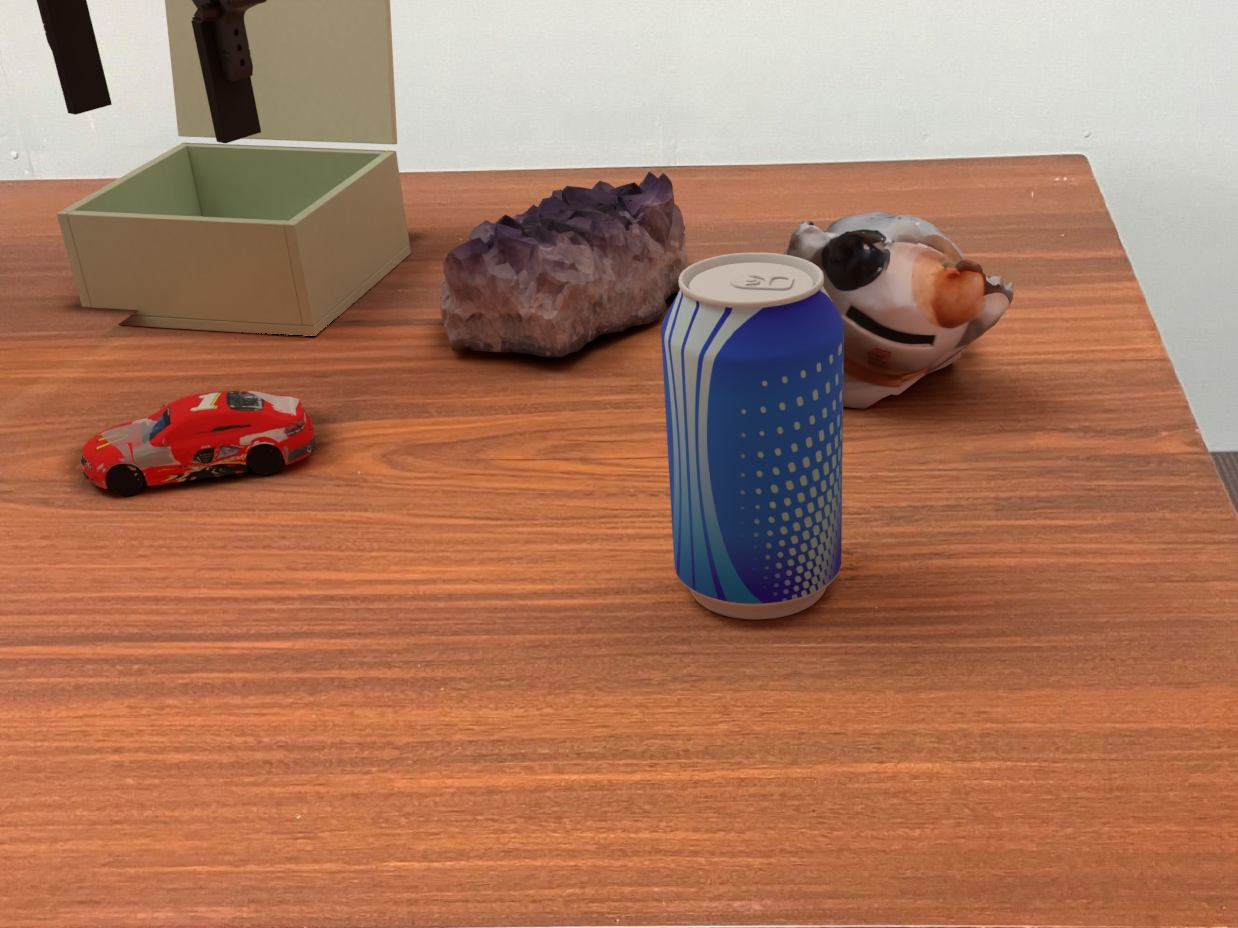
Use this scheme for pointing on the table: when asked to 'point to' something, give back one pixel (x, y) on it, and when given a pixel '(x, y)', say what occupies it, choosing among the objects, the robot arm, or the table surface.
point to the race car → (200, 441)
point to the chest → (239, 237)
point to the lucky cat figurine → (898, 298)
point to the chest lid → (299, 71)
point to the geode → (566, 270)
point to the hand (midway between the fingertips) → (162, 123)
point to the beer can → (754, 433)
